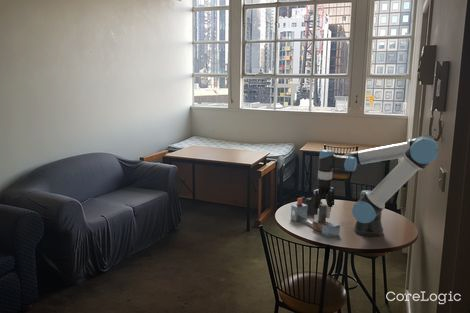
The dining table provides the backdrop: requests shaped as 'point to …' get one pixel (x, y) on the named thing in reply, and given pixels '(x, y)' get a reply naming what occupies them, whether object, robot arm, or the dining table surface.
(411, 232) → the dining table surface
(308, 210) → the camera
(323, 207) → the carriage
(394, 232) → the dining table surface
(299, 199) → the plunger
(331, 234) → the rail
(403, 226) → the dining table surface
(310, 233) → the dining table surface
